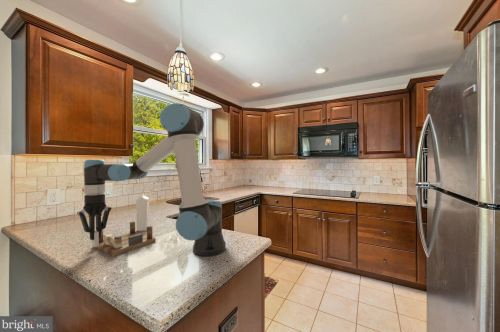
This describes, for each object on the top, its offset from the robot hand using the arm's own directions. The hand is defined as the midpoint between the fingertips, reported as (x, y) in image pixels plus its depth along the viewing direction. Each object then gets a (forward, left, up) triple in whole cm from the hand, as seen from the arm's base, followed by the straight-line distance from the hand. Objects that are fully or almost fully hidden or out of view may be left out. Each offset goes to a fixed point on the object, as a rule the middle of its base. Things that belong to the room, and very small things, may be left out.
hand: (95, 246), depth 95 cm
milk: (+16, -32, -4) cm, 36 cm away
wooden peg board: (0, -13, -3) cm, 14 cm away
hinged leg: (-2, -6, -1) cm, 7 cm away
